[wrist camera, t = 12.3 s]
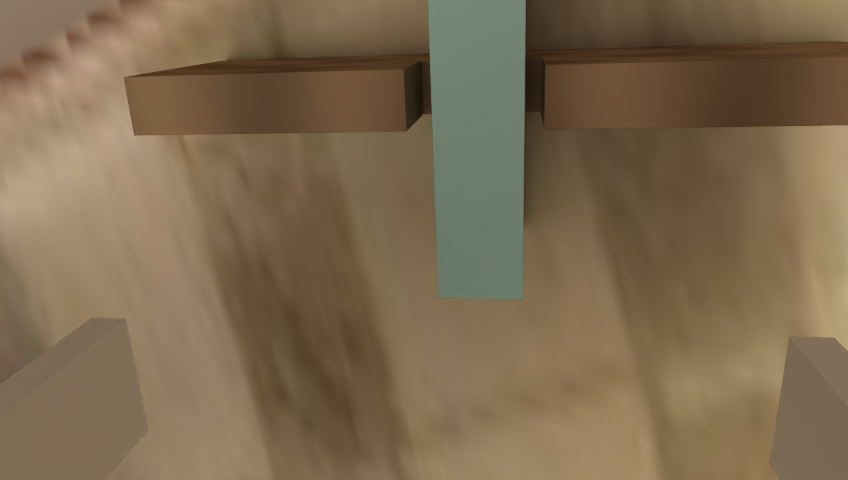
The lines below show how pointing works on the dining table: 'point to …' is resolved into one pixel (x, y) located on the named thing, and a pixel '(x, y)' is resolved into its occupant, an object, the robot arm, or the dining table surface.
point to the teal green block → (478, 145)
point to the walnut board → (544, 90)
